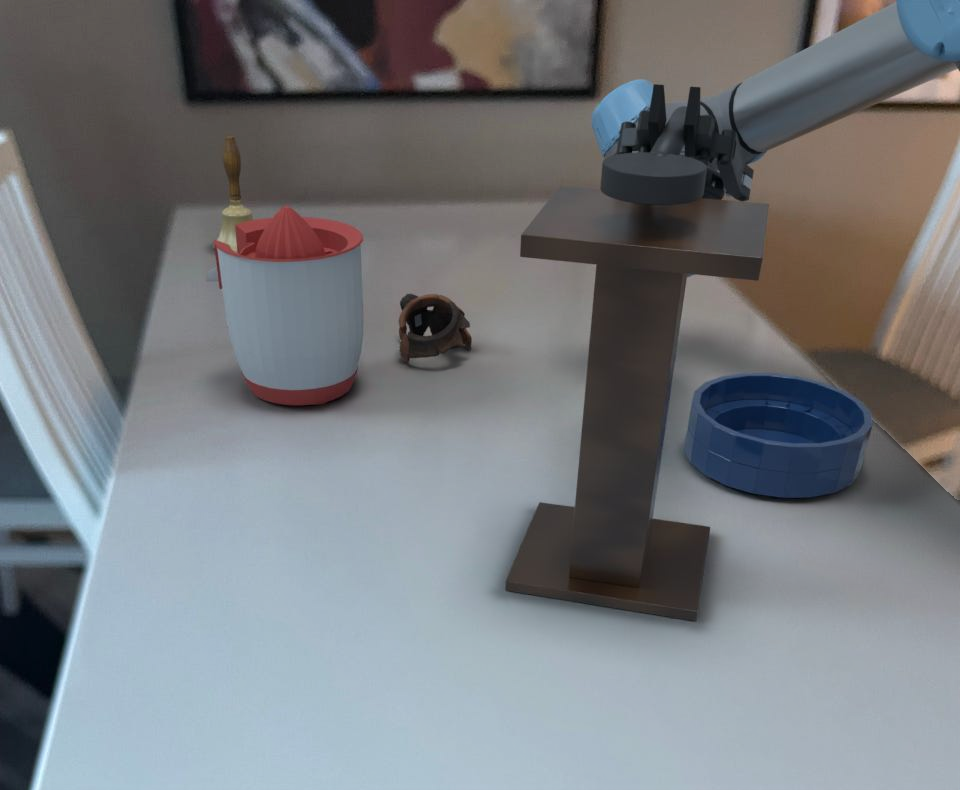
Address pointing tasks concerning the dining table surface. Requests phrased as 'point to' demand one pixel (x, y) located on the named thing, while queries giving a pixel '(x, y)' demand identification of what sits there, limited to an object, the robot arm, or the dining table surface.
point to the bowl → (777, 434)
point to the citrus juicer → (294, 306)
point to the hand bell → (232, 195)
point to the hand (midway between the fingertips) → (674, 105)
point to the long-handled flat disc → (656, 171)
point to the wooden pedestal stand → (629, 396)
